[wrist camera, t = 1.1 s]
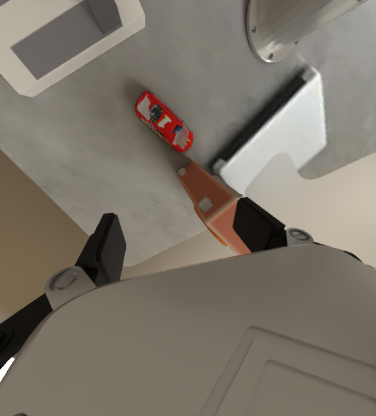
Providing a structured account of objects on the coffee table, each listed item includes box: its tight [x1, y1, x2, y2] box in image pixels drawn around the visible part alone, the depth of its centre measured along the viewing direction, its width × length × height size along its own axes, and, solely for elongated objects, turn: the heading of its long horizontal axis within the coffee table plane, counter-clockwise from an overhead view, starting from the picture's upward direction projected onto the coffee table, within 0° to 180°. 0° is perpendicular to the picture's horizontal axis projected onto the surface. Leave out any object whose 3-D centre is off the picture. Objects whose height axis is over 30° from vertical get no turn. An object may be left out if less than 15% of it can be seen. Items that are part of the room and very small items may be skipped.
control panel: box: [177, 161, 251, 255], centre depth 30 cm, size 21×7×15 cm
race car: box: [135, 91, 193, 153], centre depth 29 cm, size 13×5×4 cm, turn 46°
